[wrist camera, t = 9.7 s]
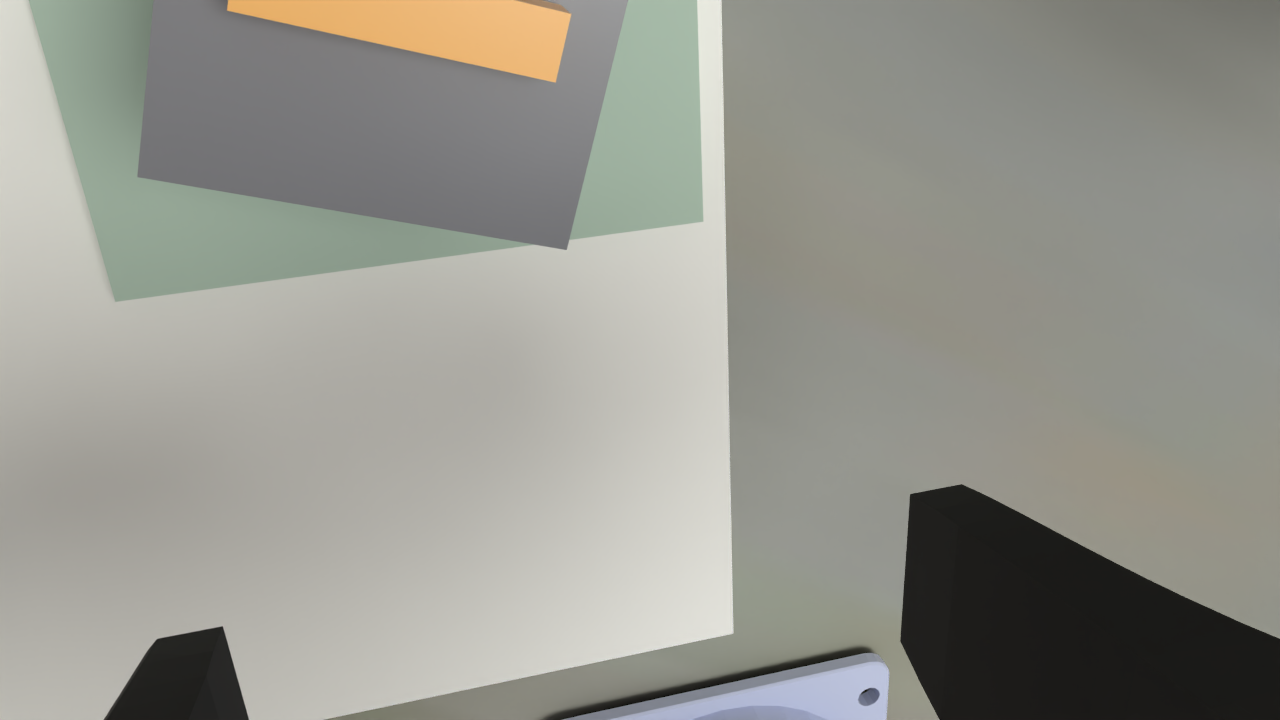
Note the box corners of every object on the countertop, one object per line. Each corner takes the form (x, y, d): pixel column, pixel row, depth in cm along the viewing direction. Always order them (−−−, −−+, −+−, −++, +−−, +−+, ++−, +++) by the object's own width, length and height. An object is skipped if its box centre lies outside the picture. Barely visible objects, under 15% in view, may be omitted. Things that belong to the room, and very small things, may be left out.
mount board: (711, 588, 24) (817, 805, 19) (-355, 803, 20) (-592, 1150, 15) (678, -516, 16) (857, -679, 10) (-1184, -506, 12) (-2415, -760, 6)
